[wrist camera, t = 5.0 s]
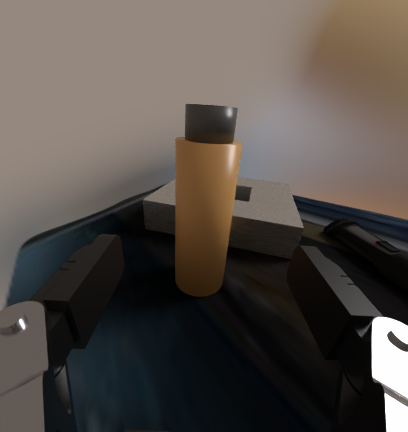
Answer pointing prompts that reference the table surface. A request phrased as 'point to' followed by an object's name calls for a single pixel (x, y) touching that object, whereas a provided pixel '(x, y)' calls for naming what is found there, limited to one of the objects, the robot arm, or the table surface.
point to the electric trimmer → (372, 250)
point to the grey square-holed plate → (242, 216)
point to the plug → (204, 196)
